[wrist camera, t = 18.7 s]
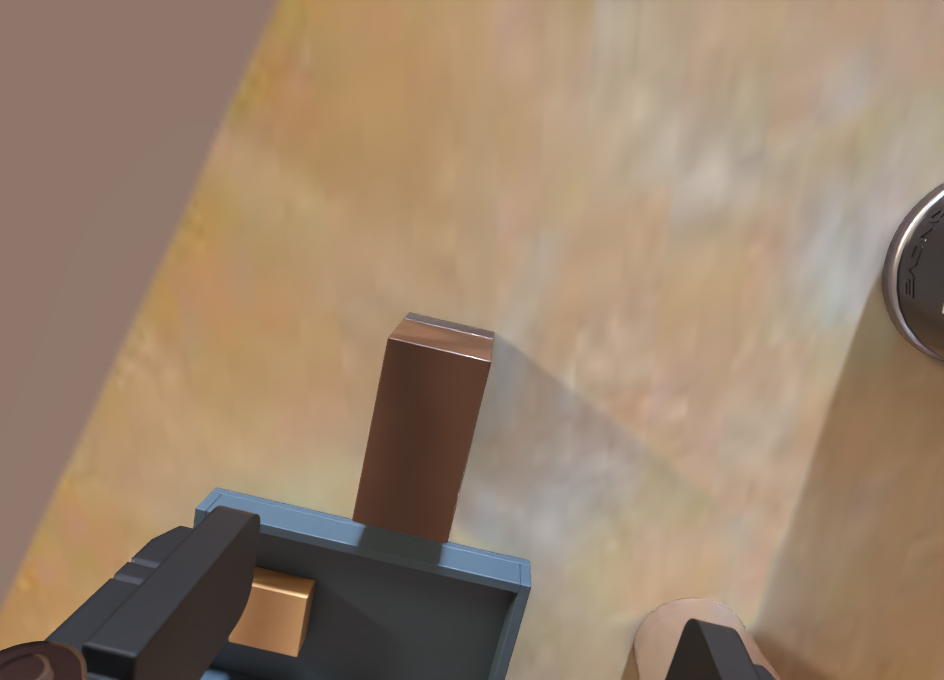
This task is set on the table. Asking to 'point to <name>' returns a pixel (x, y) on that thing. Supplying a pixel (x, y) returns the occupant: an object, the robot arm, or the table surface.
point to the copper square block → (276, 613)
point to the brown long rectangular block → (423, 426)
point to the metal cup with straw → (666, 628)
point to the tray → (380, 601)
